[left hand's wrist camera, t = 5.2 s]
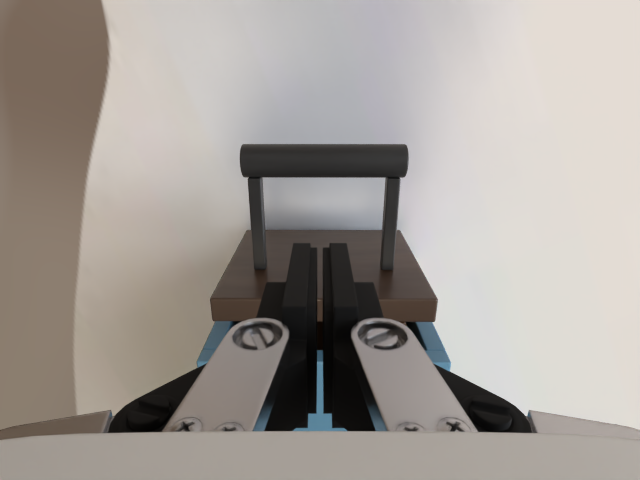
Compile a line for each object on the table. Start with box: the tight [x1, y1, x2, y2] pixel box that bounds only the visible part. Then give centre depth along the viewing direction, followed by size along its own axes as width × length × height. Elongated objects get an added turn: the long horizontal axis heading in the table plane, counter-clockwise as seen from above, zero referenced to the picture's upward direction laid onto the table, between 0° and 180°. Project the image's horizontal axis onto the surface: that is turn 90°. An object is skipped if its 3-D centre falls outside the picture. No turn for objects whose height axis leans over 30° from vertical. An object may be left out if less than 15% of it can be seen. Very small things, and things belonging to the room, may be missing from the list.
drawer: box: [210, 144, 438, 350], centre depth 23 cm, size 24×10×9 cm, turn 0°
